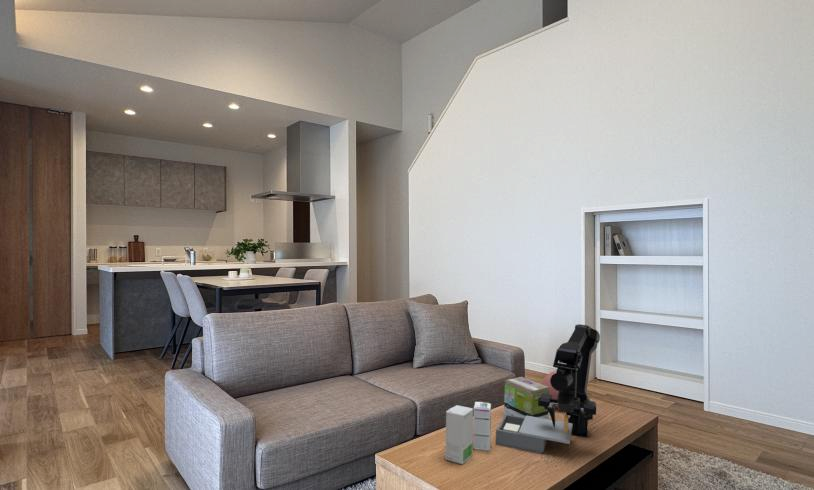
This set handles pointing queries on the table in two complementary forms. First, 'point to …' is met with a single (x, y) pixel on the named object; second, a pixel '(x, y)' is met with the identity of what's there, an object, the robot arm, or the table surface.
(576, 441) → the table surface
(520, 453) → the table surface
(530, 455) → the table surface
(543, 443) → the grey flat block
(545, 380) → the balloon
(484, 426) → the syrup box
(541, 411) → the tea box
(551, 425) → the lid
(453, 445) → the skincare box
